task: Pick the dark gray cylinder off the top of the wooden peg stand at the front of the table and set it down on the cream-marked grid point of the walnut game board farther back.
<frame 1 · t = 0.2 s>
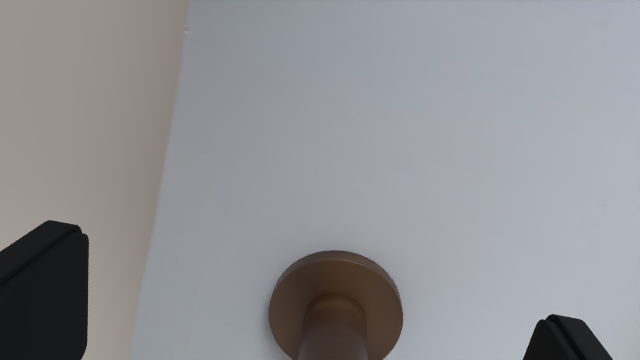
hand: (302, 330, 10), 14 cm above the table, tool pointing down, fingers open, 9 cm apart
wooden peg stand: (335, 308, 26), on the table
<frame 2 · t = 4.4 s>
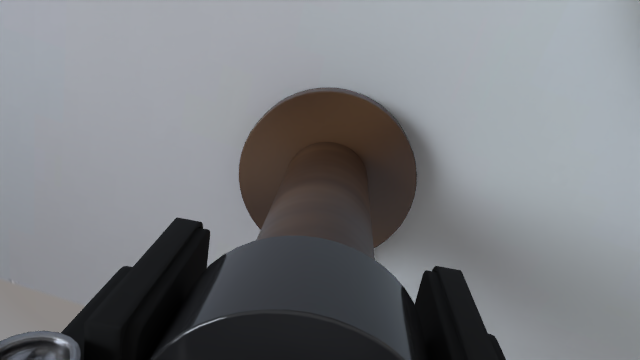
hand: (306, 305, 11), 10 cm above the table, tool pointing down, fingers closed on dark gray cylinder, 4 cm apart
dark gray cylinder: (299, 345, 9), point 11 cm above the table, touching gripper, wooden peg stand
wooden peg stand: (327, 173, 20), on the table
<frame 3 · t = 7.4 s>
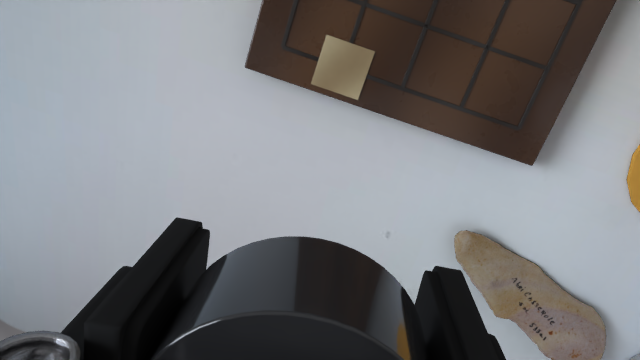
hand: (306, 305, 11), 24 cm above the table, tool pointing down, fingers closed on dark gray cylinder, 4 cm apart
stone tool: (522, 288, 37), on the table
dark gray cylinder: (299, 346, 9), point 25 cm above the table, touching gripper
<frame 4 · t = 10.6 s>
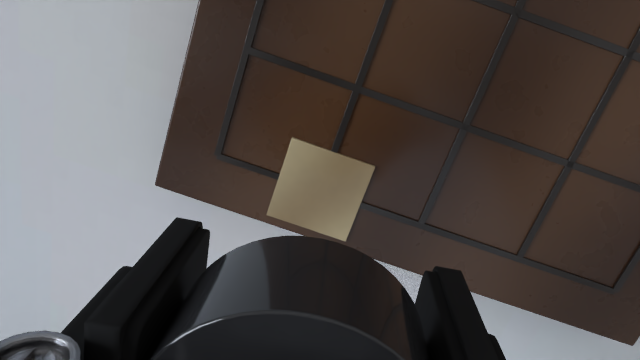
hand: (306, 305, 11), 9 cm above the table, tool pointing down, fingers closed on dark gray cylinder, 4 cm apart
board: (502, 12, 17), on the table
dark gray cylinder: (300, 345, 9), point 11 cm above the table, touching gripper
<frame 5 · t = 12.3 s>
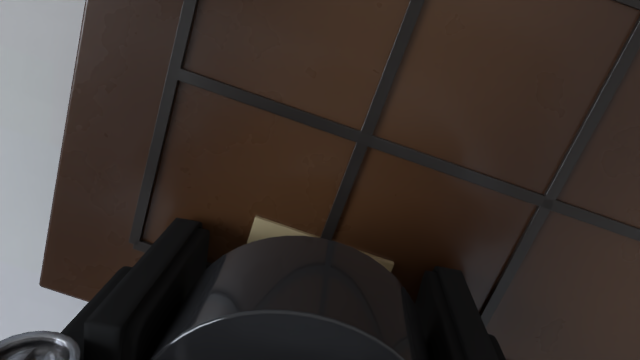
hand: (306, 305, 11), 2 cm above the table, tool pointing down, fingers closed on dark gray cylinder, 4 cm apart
board: (609, 8, 10), on the table
dark gray cylinder: (300, 345, 9), point 3 cm above the table, touching gripper
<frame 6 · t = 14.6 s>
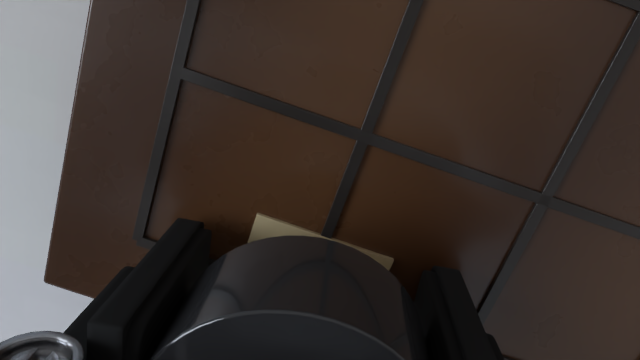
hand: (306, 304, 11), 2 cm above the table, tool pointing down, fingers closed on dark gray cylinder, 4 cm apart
board: (605, 8, 10), on the table
dark gray cylinder: (299, 345, 9), point 3 cm above the table, touching gripper
when the fingers open (2 cm above the table, at t = 16.7 s): dark gray cylinder drops 2 cm, resting on board.
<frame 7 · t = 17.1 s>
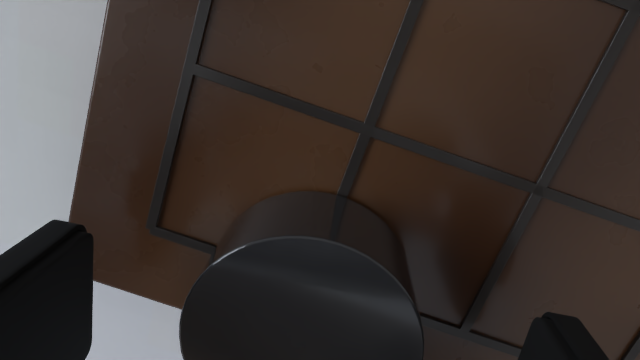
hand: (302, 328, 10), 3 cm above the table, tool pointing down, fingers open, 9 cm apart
board: (597, 7, 11), on the table
dark gray cylinder: (310, 283, 12), point 2 cm above the table, touching board
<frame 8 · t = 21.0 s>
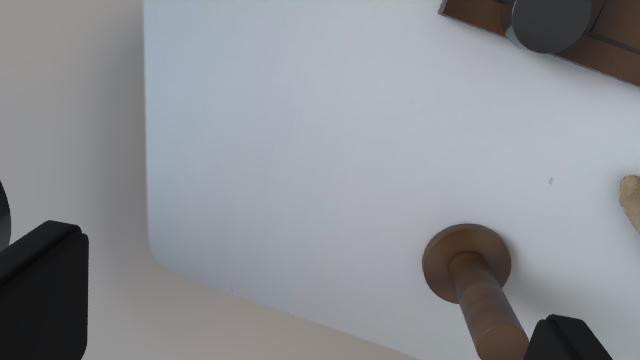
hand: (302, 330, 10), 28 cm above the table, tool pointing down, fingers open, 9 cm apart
dark gray cylinder: (537, 14, 32), point 2 cm above the table, touching board
wooden peg stand: (464, 261, 40), on the table
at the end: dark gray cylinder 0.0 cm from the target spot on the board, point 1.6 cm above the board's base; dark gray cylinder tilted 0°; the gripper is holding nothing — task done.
